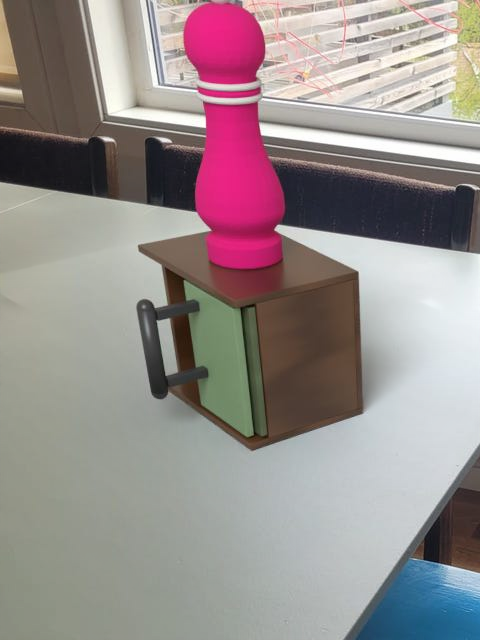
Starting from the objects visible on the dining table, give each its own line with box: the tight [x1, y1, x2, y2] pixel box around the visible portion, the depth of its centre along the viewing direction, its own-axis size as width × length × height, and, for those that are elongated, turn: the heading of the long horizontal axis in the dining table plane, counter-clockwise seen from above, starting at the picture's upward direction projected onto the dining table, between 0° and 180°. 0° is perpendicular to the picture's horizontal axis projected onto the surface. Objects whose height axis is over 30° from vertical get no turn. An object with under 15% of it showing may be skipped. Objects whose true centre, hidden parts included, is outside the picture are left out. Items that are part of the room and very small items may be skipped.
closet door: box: [135, 280, 254, 437], centre depth 83 cm, size 6×8×11 cm
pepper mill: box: [182, 0, 286, 269], centre depth 78 cm, size 7×7×20 cm
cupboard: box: [137, 230, 364, 451], centre depth 89 cm, size 12×16×13 cm
